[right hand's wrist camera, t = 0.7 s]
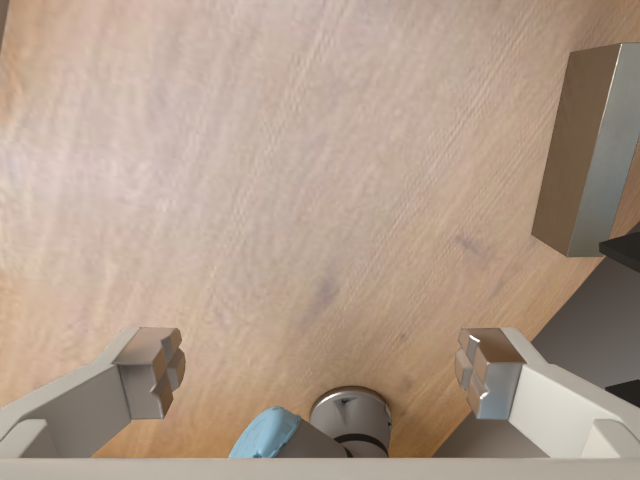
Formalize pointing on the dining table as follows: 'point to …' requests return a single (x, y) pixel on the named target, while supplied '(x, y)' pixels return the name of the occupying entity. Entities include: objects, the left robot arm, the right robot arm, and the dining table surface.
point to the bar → (590, 149)
